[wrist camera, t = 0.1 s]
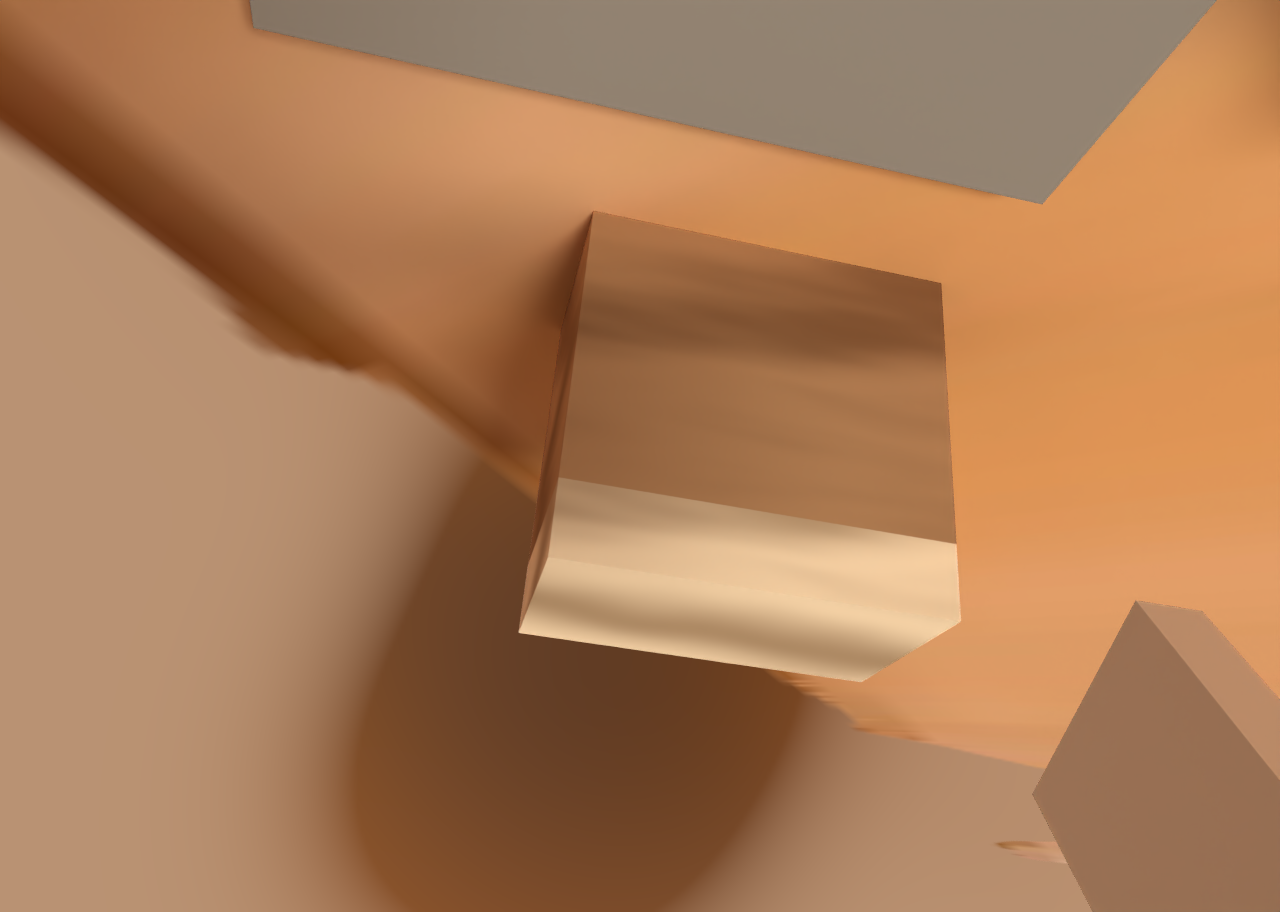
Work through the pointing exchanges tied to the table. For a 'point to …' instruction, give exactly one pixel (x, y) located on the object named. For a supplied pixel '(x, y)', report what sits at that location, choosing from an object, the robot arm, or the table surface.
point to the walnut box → (745, 458)
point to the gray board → (805, 69)
